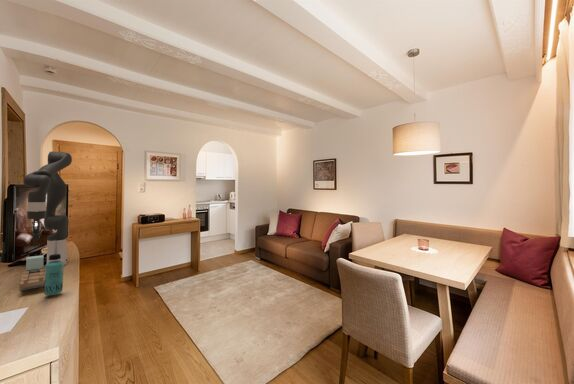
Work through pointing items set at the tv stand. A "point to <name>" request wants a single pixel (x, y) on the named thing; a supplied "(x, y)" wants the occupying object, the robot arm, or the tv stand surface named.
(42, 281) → the beam
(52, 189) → the robot arm
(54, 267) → the beverage bottle
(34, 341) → the tv stand surface
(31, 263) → the grey rectangular block
